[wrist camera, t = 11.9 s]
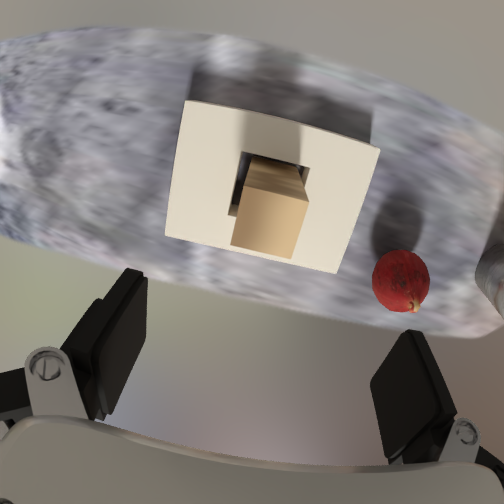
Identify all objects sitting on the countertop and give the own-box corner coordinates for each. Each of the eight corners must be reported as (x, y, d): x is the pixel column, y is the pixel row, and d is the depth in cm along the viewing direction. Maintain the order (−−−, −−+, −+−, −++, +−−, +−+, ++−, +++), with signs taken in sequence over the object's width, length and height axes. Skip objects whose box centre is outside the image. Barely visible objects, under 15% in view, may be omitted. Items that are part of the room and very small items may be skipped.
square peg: (296, 167, 28) (309, 201, 19) (284, 207, 29) (290, 259, 21) (252, 155, 27) (243, 185, 18) (242, 197, 29) (229, 245, 20)
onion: (355, 252, 31) (376, 299, 24) (404, 227, 29) (437, 266, 22) (374, 293, 33) (395, 342, 26) (419, 269, 32) (449, 313, 24)
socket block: (370, 143, 26) (380, 149, 23) (331, 258, 32) (336, 273, 29) (194, 100, 25) (185, 100, 22) (173, 222, 31) (164, 235, 28)
